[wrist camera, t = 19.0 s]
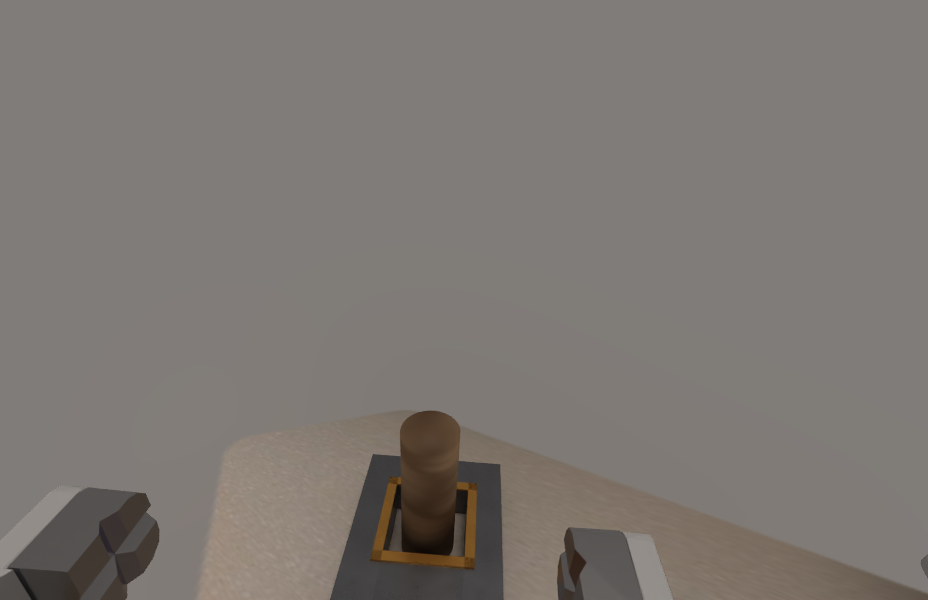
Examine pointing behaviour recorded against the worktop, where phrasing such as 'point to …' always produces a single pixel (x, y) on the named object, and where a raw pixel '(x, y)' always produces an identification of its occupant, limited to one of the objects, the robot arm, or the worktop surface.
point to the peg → (429, 482)
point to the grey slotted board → (414, 574)
